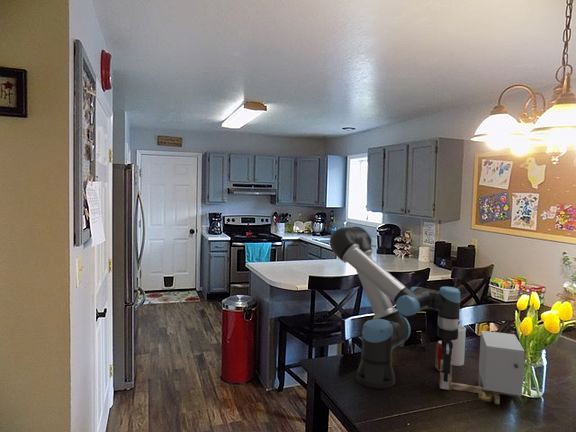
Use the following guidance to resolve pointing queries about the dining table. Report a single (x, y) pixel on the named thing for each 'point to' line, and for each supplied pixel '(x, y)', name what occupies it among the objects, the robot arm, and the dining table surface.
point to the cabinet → (501, 363)
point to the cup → (459, 347)
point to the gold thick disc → (486, 396)
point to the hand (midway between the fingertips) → (444, 385)
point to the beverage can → (439, 355)
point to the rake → (466, 387)
